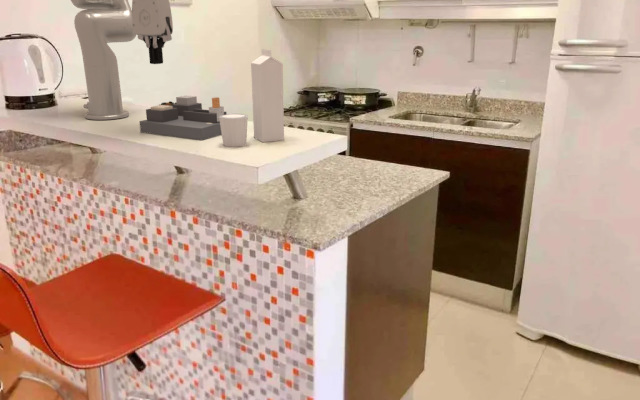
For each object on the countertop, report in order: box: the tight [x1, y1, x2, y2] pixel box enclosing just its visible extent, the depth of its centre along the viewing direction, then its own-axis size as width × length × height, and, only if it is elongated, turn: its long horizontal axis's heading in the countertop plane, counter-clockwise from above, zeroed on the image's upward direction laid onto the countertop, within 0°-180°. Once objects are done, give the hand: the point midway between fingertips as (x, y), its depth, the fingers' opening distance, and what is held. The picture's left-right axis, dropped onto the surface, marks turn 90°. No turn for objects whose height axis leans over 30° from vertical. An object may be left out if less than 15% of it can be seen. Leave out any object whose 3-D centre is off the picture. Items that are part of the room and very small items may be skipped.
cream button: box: [150, 104, 173, 111], centre depth 144 cm, size 4×4×4 cm
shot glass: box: [219, 113, 249, 148], centre depth 129 cm, size 7×7×7 cm
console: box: [139, 102, 228, 141], centre depth 146 cm, size 21×19×6 cm
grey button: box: [175, 95, 198, 106], centre depth 152 cm, size 4×4×4 cm
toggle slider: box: [208, 96, 225, 122], centre depth 141 cm, size 3×3×6 cm
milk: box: [250, 48, 285, 143], centre depth 133 cm, size 6×6×22 cm
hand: (156, 63), depth 140 cm, fingers closed
